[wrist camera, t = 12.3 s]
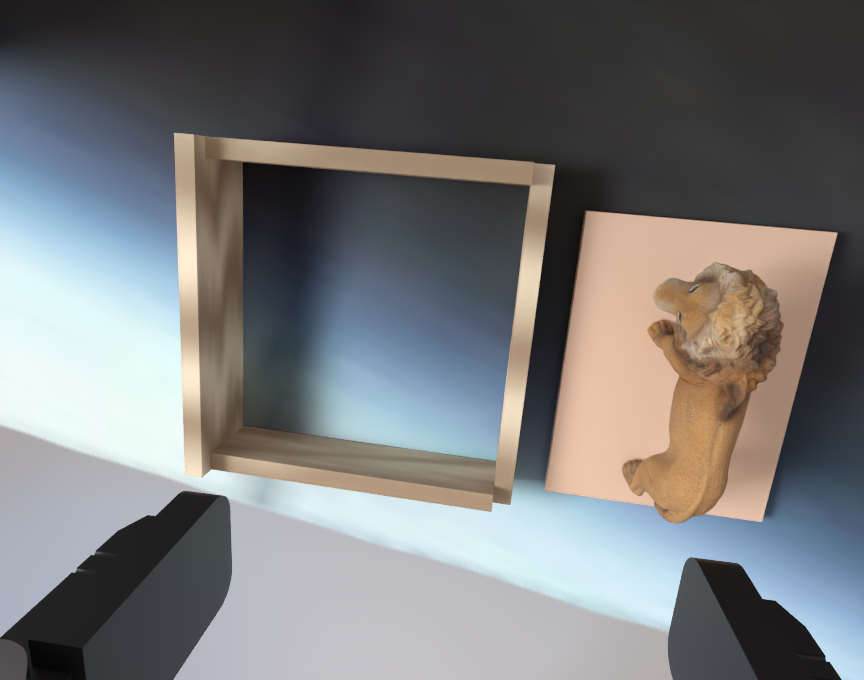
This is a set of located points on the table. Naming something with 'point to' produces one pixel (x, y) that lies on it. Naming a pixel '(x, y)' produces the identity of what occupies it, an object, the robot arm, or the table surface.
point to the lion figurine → (707, 383)
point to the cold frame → (223, 328)
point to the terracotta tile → (645, 362)
